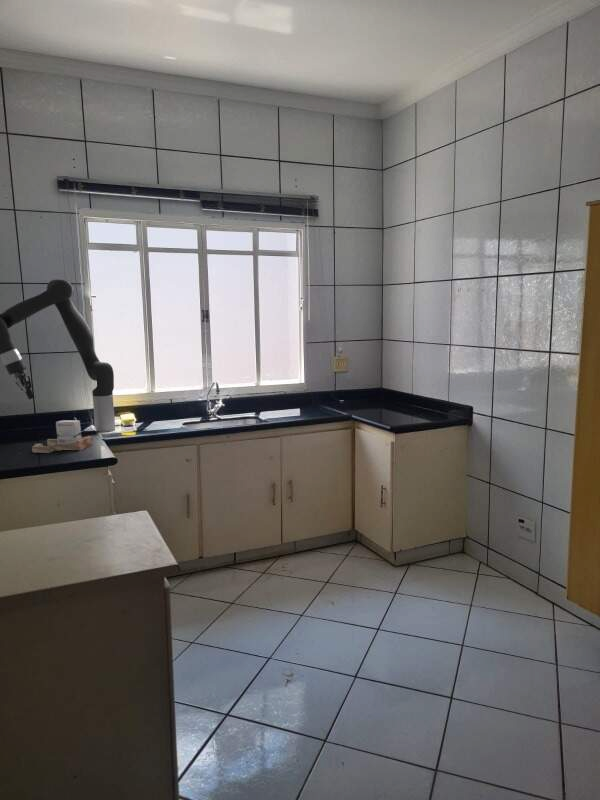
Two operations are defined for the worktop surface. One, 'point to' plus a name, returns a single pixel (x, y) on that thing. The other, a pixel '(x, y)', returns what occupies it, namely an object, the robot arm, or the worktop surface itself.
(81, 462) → the worktop surface
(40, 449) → the trap lane
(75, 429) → the ink box
